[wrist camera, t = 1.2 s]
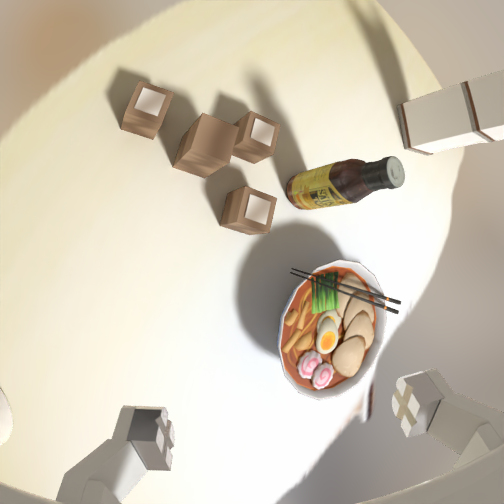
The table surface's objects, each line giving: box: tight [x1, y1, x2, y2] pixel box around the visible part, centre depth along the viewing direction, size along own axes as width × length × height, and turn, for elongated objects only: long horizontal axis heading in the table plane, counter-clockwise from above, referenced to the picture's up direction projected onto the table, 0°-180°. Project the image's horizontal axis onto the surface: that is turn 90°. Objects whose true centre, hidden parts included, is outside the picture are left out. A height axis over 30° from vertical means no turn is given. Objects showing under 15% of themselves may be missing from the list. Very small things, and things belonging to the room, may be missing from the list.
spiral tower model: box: [397, 70, 504, 155], centre depth 54 cm, size 11×11×35 cm
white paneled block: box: [220, 186, 277, 235], centre depth 46 cm, size 5×5×6 cm
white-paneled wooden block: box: [232, 111, 280, 164], centre depth 46 cm, size 5×5×6 cm
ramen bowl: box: [277, 259, 401, 400], centre depth 51 cm, size 25×23×8 cm
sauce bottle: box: [287, 156, 405, 210], centre depth 45 cm, size 6×6×20 cm
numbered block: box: [121, 81, 174, 140], centre depth 39 cm, size 5×5×6 cm
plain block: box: [173, 113, 239, 178], centre depth 41 cm, size 5×5×9 cm
